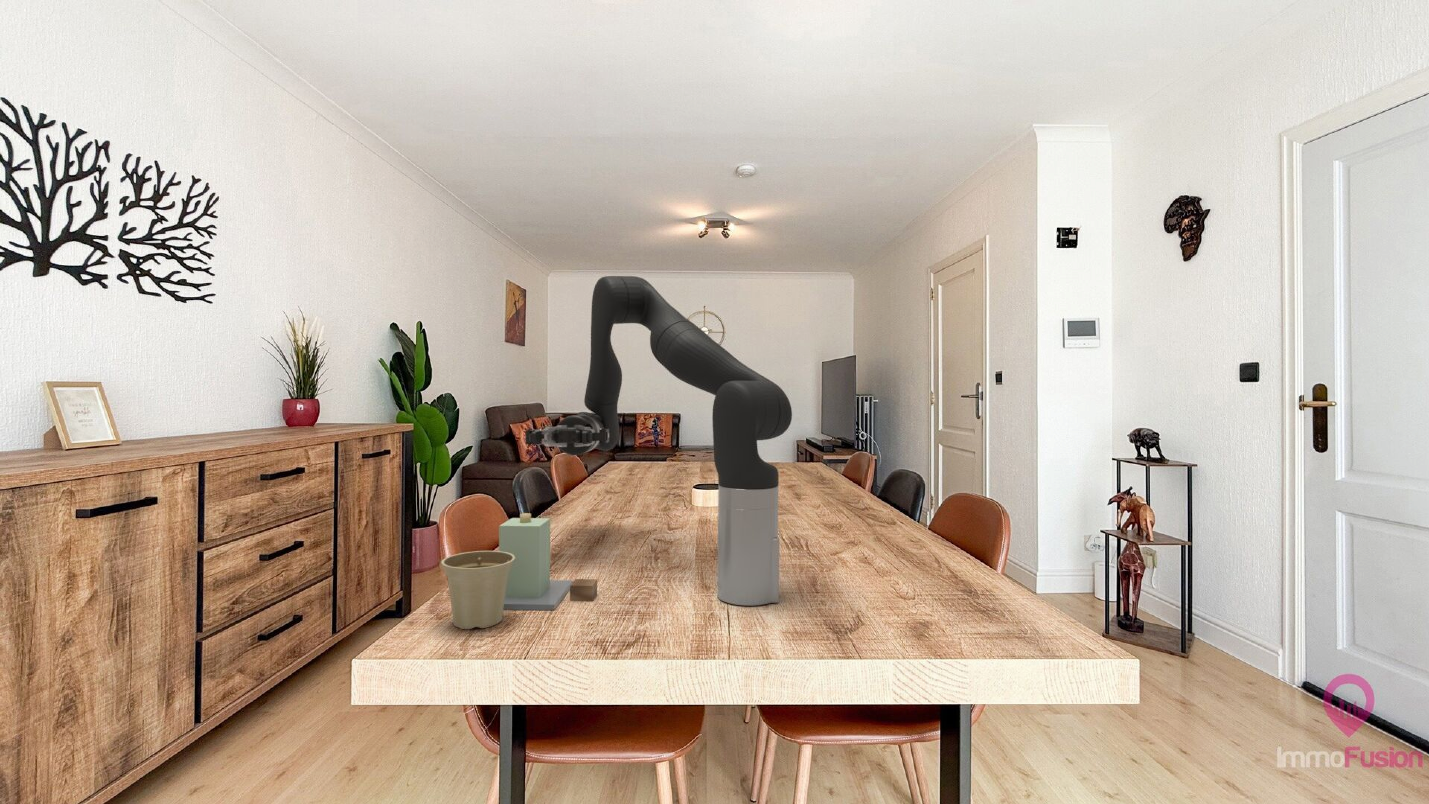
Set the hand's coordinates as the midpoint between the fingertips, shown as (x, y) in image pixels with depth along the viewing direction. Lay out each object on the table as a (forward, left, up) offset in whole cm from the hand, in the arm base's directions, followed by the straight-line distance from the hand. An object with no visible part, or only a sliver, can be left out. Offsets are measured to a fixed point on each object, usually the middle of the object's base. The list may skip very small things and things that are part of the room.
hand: (559, 438), depth 110 cm
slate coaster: (+3, +11, -23) cm, 26 cm away
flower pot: (+6, +22, -24) cm, 33 cm away
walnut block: (-7, +11, -24) cm, 27 cm away
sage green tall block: (+2, +11, -23) cm, 25 cm away
